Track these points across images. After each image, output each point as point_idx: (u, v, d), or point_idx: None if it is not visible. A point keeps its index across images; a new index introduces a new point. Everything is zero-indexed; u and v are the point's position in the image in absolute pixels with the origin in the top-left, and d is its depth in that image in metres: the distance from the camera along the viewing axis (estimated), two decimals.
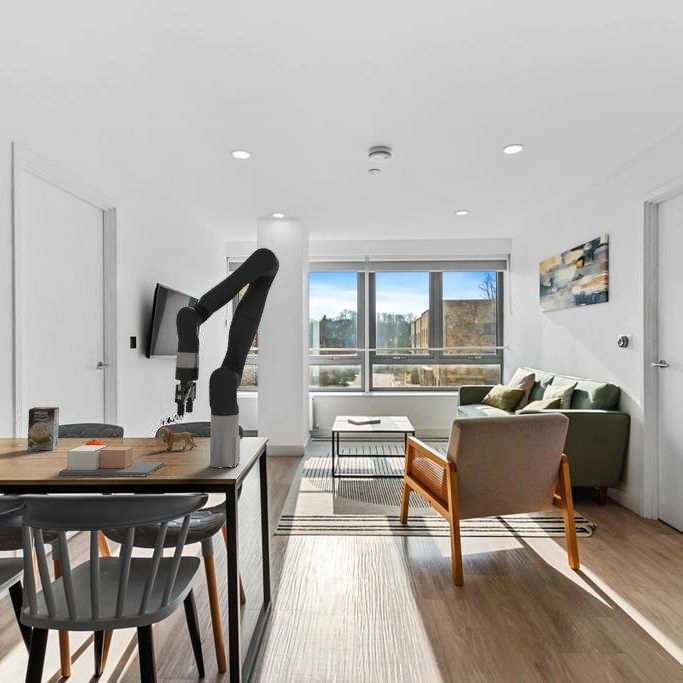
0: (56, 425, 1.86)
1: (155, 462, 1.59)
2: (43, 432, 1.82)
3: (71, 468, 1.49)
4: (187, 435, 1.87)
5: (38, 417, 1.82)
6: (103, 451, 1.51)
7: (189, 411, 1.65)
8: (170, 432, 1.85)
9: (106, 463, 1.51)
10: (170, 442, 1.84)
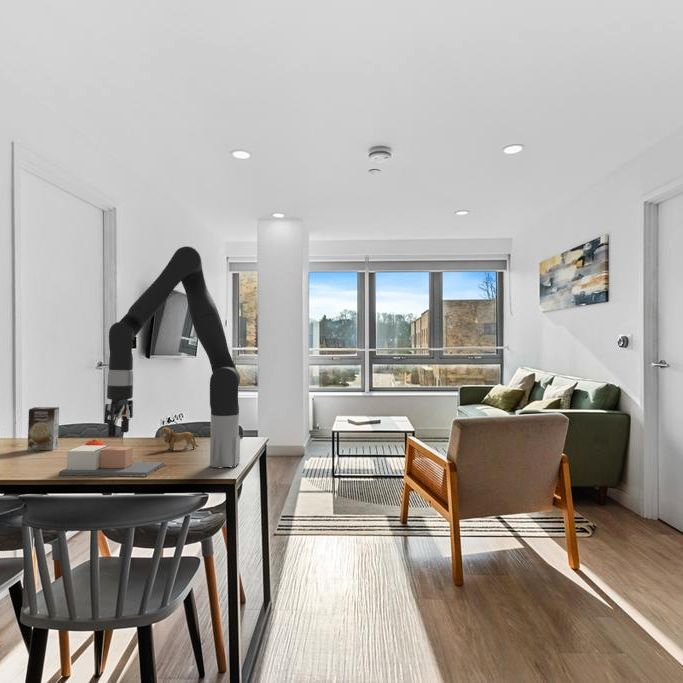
0: (56, 425, 1.86)
1: (155, 462, 1.59)
2: (43, 432, 1.82)
3: (71, 468, 1.49)
4: (188, 435, 1.87)
5: (38, 417, 1.82)
6: (103, 451, 1.51)
7: (125, 431, 1.58)
8: (171, 432, 1.85)
9: (106, 463, 1.51)
10: (171, 442, 1.85)
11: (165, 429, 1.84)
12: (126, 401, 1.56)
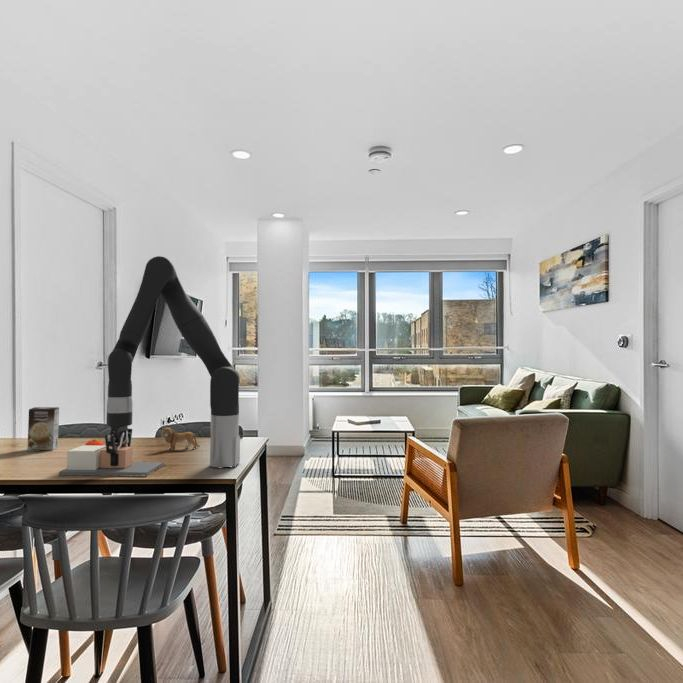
0: (56, 425, 1.86)
1: (155, 462, 1.59)
2: (43, 432, 1.82)
3: (71, 468, 1.49)
4: (190, 435, 1.87)
5: (38, 417, 1.82)
6: (103, 451, 1.51)
7: None
8: (173, 432, 1.85)
9: (106, 463, 1.51)
10: (173, 442, 1.85)
11: (167, 429, 1.84)
12: (126, 427, 1.56)
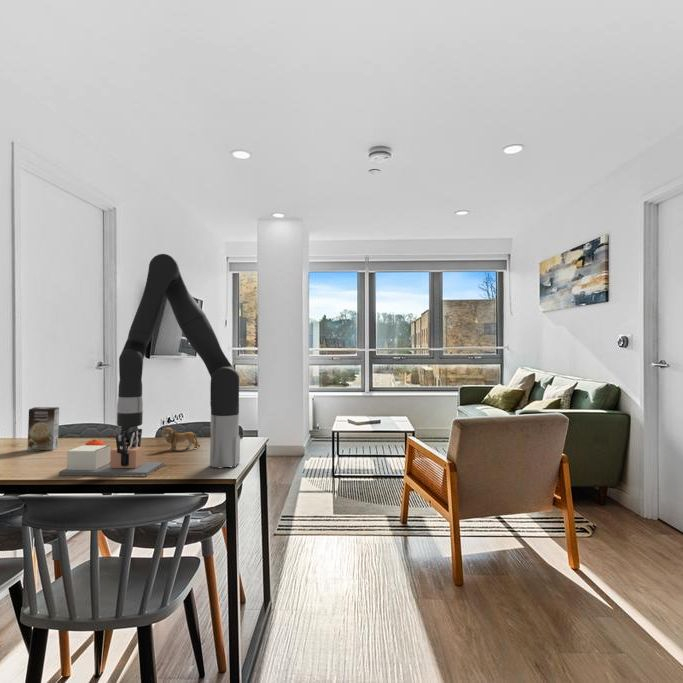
0: (56, 425, 1.86)
1: (155, 462, 1.59)
2: (43, 432, 1.82)
3: (71, 468, 1.49)
4: (191, 435, 1.87)
5: (38, 417, 1.82)
6: (113, 451, 1.51)
7: None
8: (174, 432, 1.85)
9: (116, 463, 1.51)
10: (174, 442, 1.85)
11: (167, 429, 1.84)
12: (136, 427, 1.56)
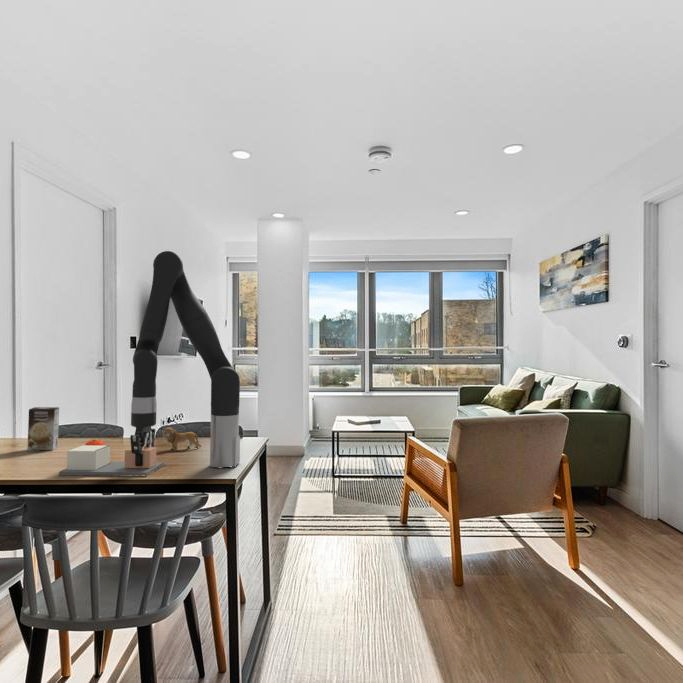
0: (56, 425, 1.86)
1: None
2: (43, 432, 1.82)
3: (71, 468, 1.49)
4: (192, 435, 1.87)
5: (38, 417, 1.82)
6: (128, 451, 1.51)
7: None
8: (175, 432, 1.85)
9: (130, 463, 1.51)
10: (175, 442, 1.85)
11: (168, 429, 1.84)
12: (150, 427, 1.56)
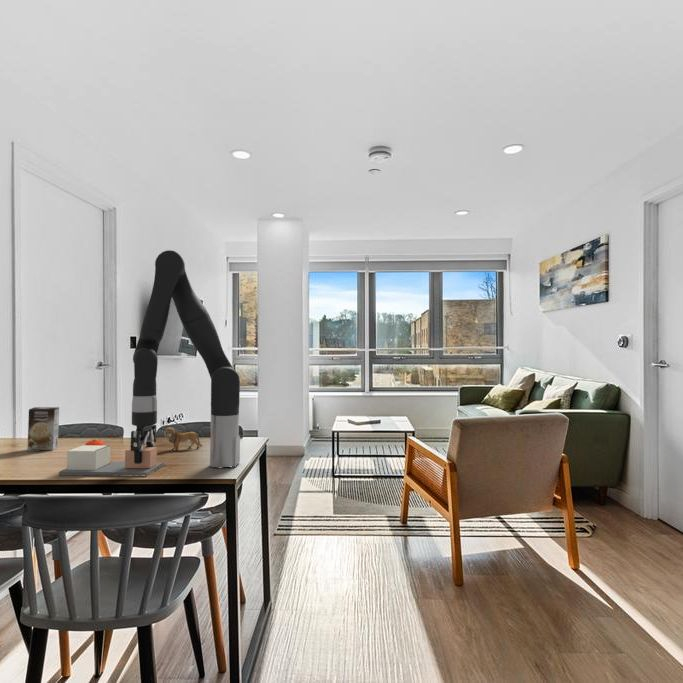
0: (56, 425, 1.86)
1: None
2: (43, 432, 1.82)
3: (71, 468, 1.49)
4: (193, 435, 1.88)
5: (38, 417, 1.82)
6: (128, 451, 1.51)
7: None
8: (176, 432, 1.86)
9: (131, 463, 1.51)
10: (176, 442, 1.85)
11: (170, 429, 1.84)
12: (150, 426, 1.56)
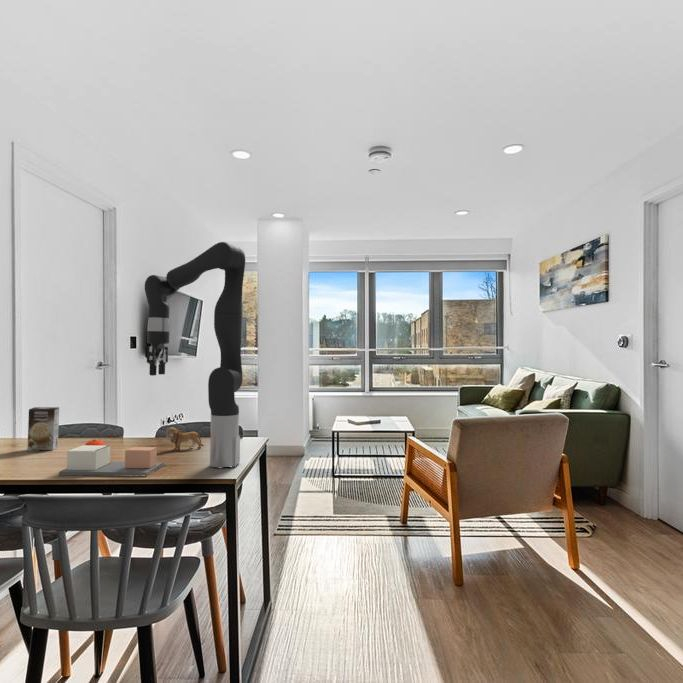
0: (56, 425, 1.86)
1: None
2: (43, 432, 1.82)
3: (71, 468, 1.49)
4: (195, 435, 1.88)
5: (38, 417, 1.82)
6: (128, 451, 1.51)
7: (162, 373, 1.78)
8: (178, 432, 1.86)
9: (131, 463, 1.51)
10: (178, 442, 1.85)
11: (172, 429, 1.84)
12: (163, 346, 1.77)
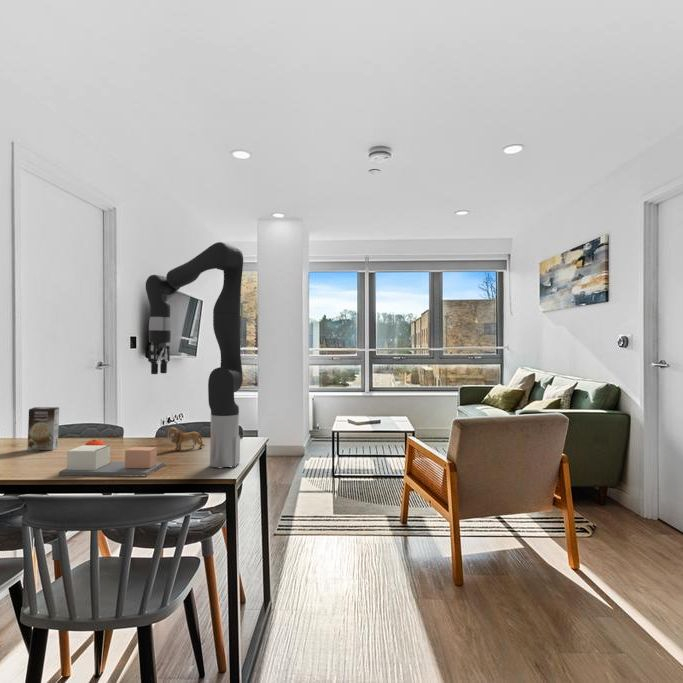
0: (56, 425, 1.86)
1: None
2: (43, 432, 1.82)
3: (71, 468, 1.49)
4: (196, 435, 1.88)
5: (38, 417, 1.82)
6: (128, 451, 1.51)
7: (163, 372, 1.80)
8: (179, 432, 1.86)
9: (131, 463, 1.51)
10: (179, 442, 1.85)
11: (173, 429, 1.84)
12: (165, 345, 1.79)
